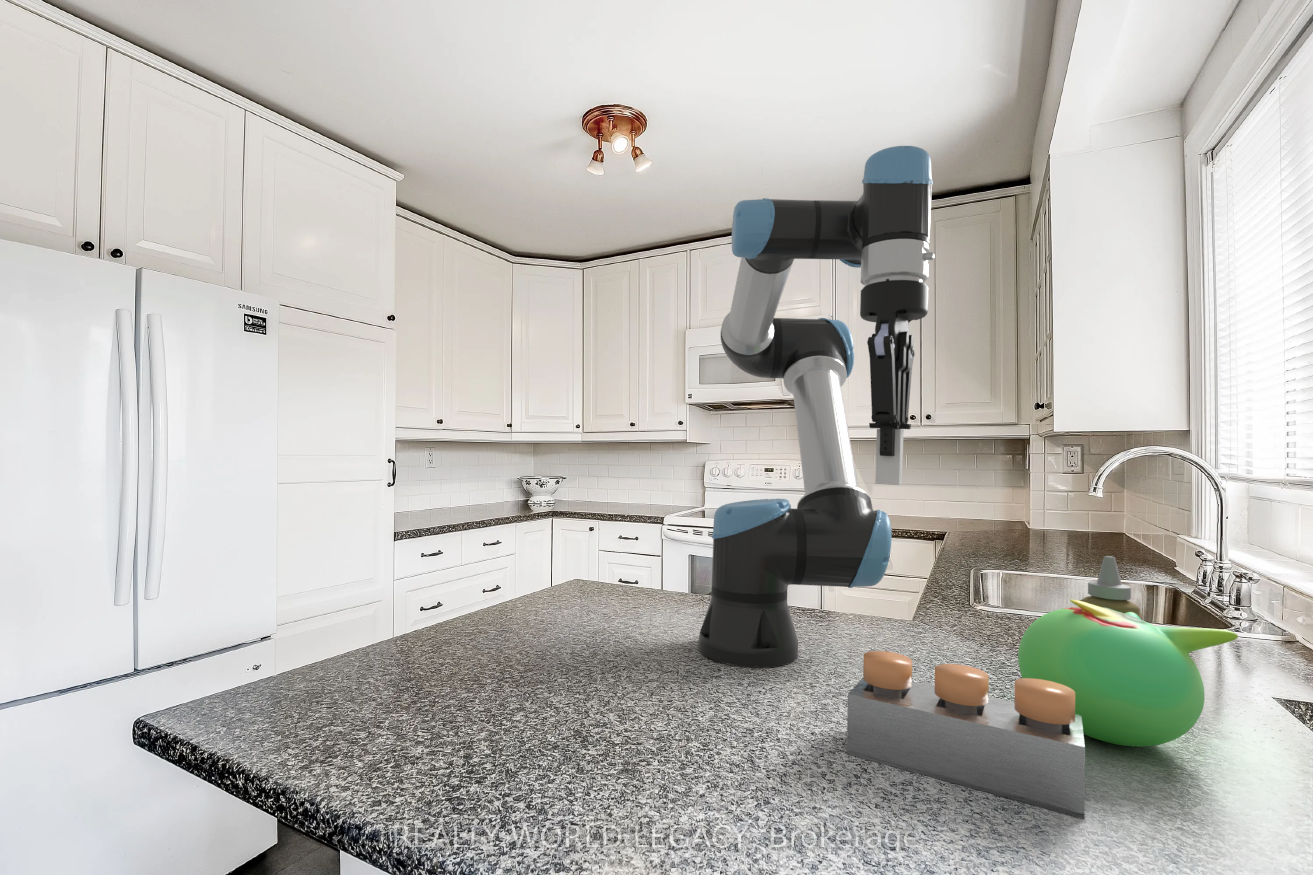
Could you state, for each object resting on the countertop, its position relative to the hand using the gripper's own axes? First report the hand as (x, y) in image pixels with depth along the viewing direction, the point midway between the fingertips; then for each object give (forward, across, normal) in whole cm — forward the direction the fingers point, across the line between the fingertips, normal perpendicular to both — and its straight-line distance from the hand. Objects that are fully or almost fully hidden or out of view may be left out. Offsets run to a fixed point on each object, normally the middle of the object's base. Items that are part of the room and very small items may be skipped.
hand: (888, 484), depth 74 cm
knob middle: (+25, -9, -10) cm, 28 cm away
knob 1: (+25, -9, -2) cm, 27 cm away
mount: (+27, -9, -10) cm, 30 cm away
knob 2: (+25, -8, -16) cm, 31 cm away
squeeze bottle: (+28, +26, -23) cm, 44 cm away
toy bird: (+27, +10, -22) cm, 36 cm away
